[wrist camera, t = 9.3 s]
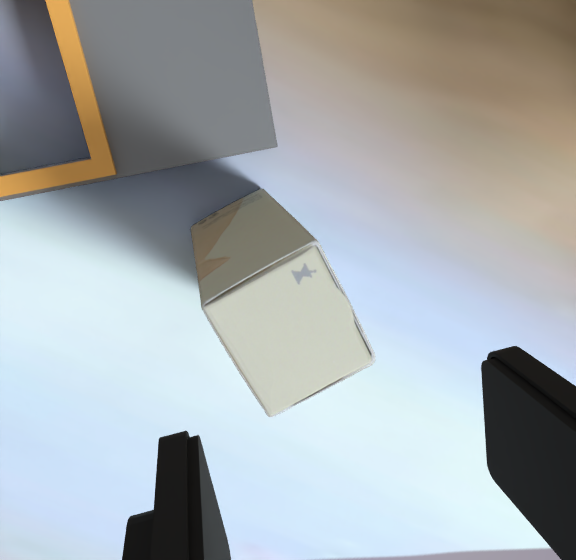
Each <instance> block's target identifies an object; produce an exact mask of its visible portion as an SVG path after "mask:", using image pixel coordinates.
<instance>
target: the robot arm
mask: <svg viewBox="0 0 576 560" xmlns="http://www.w3.org/2000/svg"><path fill="white" fill-rule="evenodd" d="M481 371H482V387H483V404H484V421H485V438H486V454H487V466H488V469H489V472H490V475H491V476H492V478H493V480H494V481H495V482H496V484H497V485H498V486H499V487H500V488H501V489H502V491H503V492H504V493H505V494H506V495H507V496H508V498H509V499H510V500H511V501H512V502H513V503H514V505H515V506H516V507H517V508H518V509H519V511H520V512H521V513H522V514H523V515H524V516H525V518H526V519H527V520H528V521H529V522H530V523H531V525H532V526H533V527H534V528H535V529H536V530H537V532H538V533H539V534H540V535H541V536H542V537H543V539H544V540H545V541H546V542H547V543H548V545H549V546H550V547H551V548H552V549H553V550H554V552H555V553H556V554H557V555H558V556H559V557H560V559H561V560H576V386H575V385H573V384H572V383H570V382H569V381H567V380H566V379H564V378H563V377H561V376H560V375H559V374H557V373H556V372H554V371H553V370H551V369H550V368H548V367H547V366H546V365H544V364H543V363H541V362H540V361H538V360H537V359H535V358H534V357H532V356H531V355H530V354H528V353H527V352H525V351H524V350H522V349H521V348H519V347H517V346H512V347H508V348H505V349H501V350H497V351H493V352H490V353H489V354H488V357H487V360H485V361H483V362H482V365H481ZM122 560H231V557H230V550H229V545H228V540H227V536H226V533H225V529H224V525H223V521H222V518H221V514H220V510H219V507H218V503H217V499H216V495H215V492H214V488H213V484H212V481H211V477H210V473H209V469H208V466H207V462H206V458H205V455H204V451H203V447H202V443H201V440H200V437H199V435H197V436H193V437H189V434H188V432H187V431H184V432H180V433H176V434H172V435H168V436H164V437H160V438H159V444H158V458H157V473H156V487H155V501H154V510H152V511H148V512H144V513H141V514H137V515H133V516H130V518H129V519H128V522H127V527H126V535H125V542H124V550H123V557H122Z"/></svg>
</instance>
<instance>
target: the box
mask: <svg viewBox="0 0 576 560" xmlns="http://www.w3.org/2000/svg"><path fill="white" fill-rule="evenodd" d="M191 235H192V242H193V249H194V256H195V263H196V269H197V275H198V283H199V291H200V298H201V307H202V310H203V311H204V313H205V315H206V317H207V319H208V321H209V322H210V324H211V326H212V328H213V329H214V331H215V333H216V335H217V336H218V338H219V340H220V342H221V343H222V345H223V346H224V348H225V350H226V351H227V353H228V355H229V356H230V358H231V360H232V361H233V363H234V365H235V366H236V368H237V369H238V371H239V373H240V374H241V376H242V377H243V379H244V380H245V382H246V383H247V385H248V387H249V388H250V390H251V391H252V393H253V394H254V396H255V397H256V399H257V400H258V402H259V403H260V405H261V406H262V408H263V409H264V411H265V413H266V414H267V415H268V416H269V417H273V416H276V415H278V414H280V413H282V412H284V411H286V410H288V409H290V408H292V407H293V406H295V405H297V404H299V403H301V402H303V401H305V400H307V399H309V398H311V397H313V396H315V395H316V394H318V393H320V392H322V391H324V390H326V389H328V388H330V387H332V386H334V385H335V384H337V383H339V382H341V381H343V380H345V379H347V378H349V377H350V376H352V375H354V374H356V373H358V372H359V371H361V370H363V369H365V368H367V367H369V366H371V365H372V364H373V363H374V362H375V354H374V351H373V349H372V347H371V345H370V343H369V341H368V338H367V336H366V334H365V332H364V330H363V328H362V326H361V324H360V322H359V320H358V318H357V316H356V314H355V312H354V310H353V308H352V306H351V304H350V302H349V300H348V298H347V296H346V294H345V292H344V290H343V288H342V286H341V284H340V282H339V280H338V278H337V276H336V274H335V272H334V270H333V269H332V267H331V265H330V263H329V261H328V259H327V257H326V255H325V253H324V251H323V249H322V247H321V245H320V244H319V242H318V241H317V240H316V239H315V238H314V237H313V236H312V235H311V234H310V233H309V232H308V231H307V230H306V229H305V228H304V227H303V226H302V225H301V224H300V223H299V222H298V221H297V220H296V219H295V218H294V217H293V216H292V215H291V214H289V213H288V212H287V211H286V210H285V209H284V208H283V207H282V206H281V205H280V204H279V203H278V202H277V201H276V200H275V199H274V198H272V197H271V196H270V195H269V194H268V193H267V192H266V191H265V190H264V189H259V190H257V191H255V192H253V193H251V194H249V195H247V196H245V197H243V198H241V199H239V200H237V201H235V202H233V203H231V204H229V205H227V206H226V207H224V208H222V209H220V210H218V211H216V212H215V213H213V214H211V215H209V216H208V217H206V218H204V219H203V220H201V221H199V222H198V223H196V224H194V225H193V226H192V227H191Z"/></svg>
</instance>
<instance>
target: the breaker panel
mask: <svg viewBox="0 0 576 560" xmlns="http://www.w3.org/2000/svg"><path fill="white" fill-rule="evenodd" d="M45 1H46V4H47V7H48V11H49V14H50V18H51V21H52V25H53V28H54V32H55V35H56V39H57V42H58V45H59V49H60V52H61V56H62V59H63V63H64V66H65V70H66V73H67V77H68V80H69V83H70V87H71V90H72V94H73V97H74V101H75V104H76V108H77V111H78V115H79V118H80V121H81V125H82V128H83V132H84V135H85V139H86V142H87V146H88V149H89V153H90V156H91V157H88V158H83V159H78V160H72V161H67V162H62V163H57V164H51V165H46V166H41V167H35V168H30V169H25V170H20V171H14V172H9V173H4V174H0V201H3V200H9V199H14V198H19V197H24V196H29V195H34V194H39V193H44V192H50V191H55V190H60V189H65V188H70V187H75V186H80V185H85V184H90V183H96V182H101V181H106V180H111V179H116V178H121V177H126V176H131V175H136V174H142V173H147V172H152V171H157V170H162V169H167V168H172V167H177V166H183V165H188V164H193V163H198V162H203V161H208V160H213V159H218V158H223V157H229V156H234V155H239V154H244V153H249V152H254V151H259V150H264V149H269V148H275V147H278V146H277V140H276V135H275V129H274V123H273V117H272V112H271V106H270V100H269V95H268V89H267V83H266V77H265V72H264V66H263V60H262V55H261V49H260V43H259V37H258V32H257V26H256V20H255V15H254V9H253V3H252V0H45Z"/></svg>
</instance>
